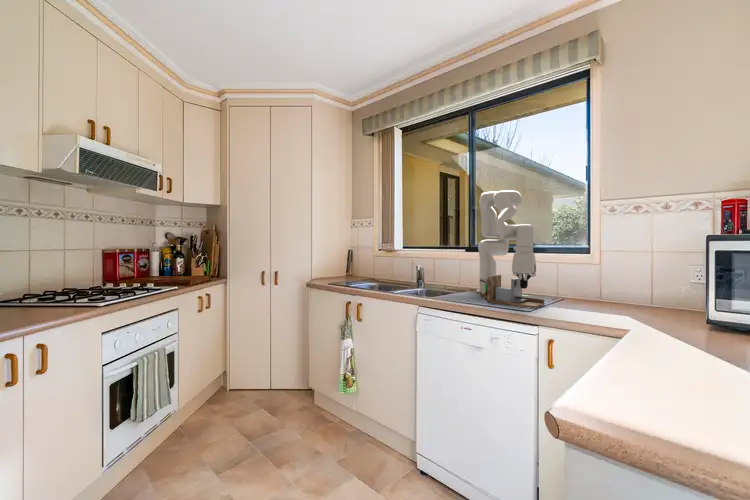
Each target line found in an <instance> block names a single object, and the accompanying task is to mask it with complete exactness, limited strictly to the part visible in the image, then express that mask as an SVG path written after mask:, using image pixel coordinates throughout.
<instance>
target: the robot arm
mask: <svg viewBox="0 0 750 500" xmlns="http://www.w3.org/2000/svg"><path fill="white" fill-rule="evenodd" d="M522 199H523V198H522V195H521V193H520V192H519V191H518V190H499V191H487V192H482V193H481V195H480V197H479V203H478V204H479V209H480V212H481V225H480V226H481V235H482V237H484V238H498V239H482V240H481V241H479V243H478V245H477V247H478V256H479V257H478V258H479V281H480V278H482V279H488V276H495V275H497V262H496V259H495V258H494V256H499V257H501V256H506V255H507V254H508V252H509V248H510V247H509V246H510V245H509V244H510V241H512V240H513V241H514V240H515V241H516V243H515V247H513V251H515V252H514V253H513V256H512V264H511V272H512V276H515V277H516V278H519V280H520V286H521V288H522V290H525V289H527V288H528V285H529V284H528V283H529V280H530V279H531V278H533V277H537V274H536V272H537V260H536V255H535V252H534V225H532V224H528V223H527V224H526V223H524V224H523V223H522V224H521V223H520V224H508V223H507V222H505V221H507V220H510V219H513V217H514V216H515V215H517V208H516V207H518V206H520V205H521V203H522ZM493 207H496V209H497V211H498V213H499V214H498V216H497V212H496V210H495V209H494V208H493ZM478 284H479V285H478V287H479V288H478V289H476V292H477V293H480V282H479V283H478Z"/></svg>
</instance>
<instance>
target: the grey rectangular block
mask: <svg viewBox="0 0 750 500" xmlns="http://www.w3.org/2000/svg"><path fill="white" fill-rule="evenodd" d="M496 300H503V301H510V302H511V287H502V286H501V287H497V288H496Z"/></svg>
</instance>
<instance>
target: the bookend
mask: <svg viewBox="0 0 750 500" xmlns="http://www.w3.org/2000/svg"><path fill="white" fill-rule="evenodd" d="M510 282H511V283H510V288H511V302H516V303H522V302H526V301H528V299H522V297H523V288H521V286H520V280H519V278H518V277H515V278H511V280H510Z"/></svg>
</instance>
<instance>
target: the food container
mask: <svg viewBox="0 0 750 500" xmlns="http://www.w3.org/2000/svg"><path fill="white" fill-rule="evenodd" d="M479 278H480V277H479ZM479 282H480V292H479V297H480V298H481V299H483V300H487V294H488V279H482V278H480V281H479Z"/></svg>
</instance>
